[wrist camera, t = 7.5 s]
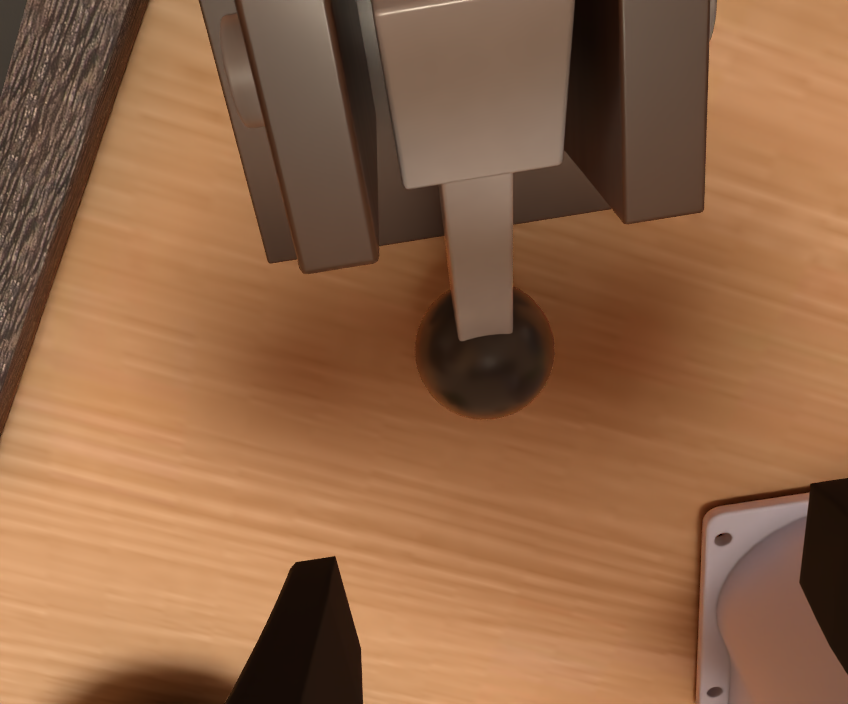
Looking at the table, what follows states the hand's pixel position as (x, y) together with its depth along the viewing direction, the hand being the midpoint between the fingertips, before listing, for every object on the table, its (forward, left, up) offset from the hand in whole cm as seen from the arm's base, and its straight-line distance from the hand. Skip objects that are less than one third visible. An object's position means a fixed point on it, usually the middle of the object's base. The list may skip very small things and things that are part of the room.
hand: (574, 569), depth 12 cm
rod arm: (+5, +1, -5) cm, 7 cm away
